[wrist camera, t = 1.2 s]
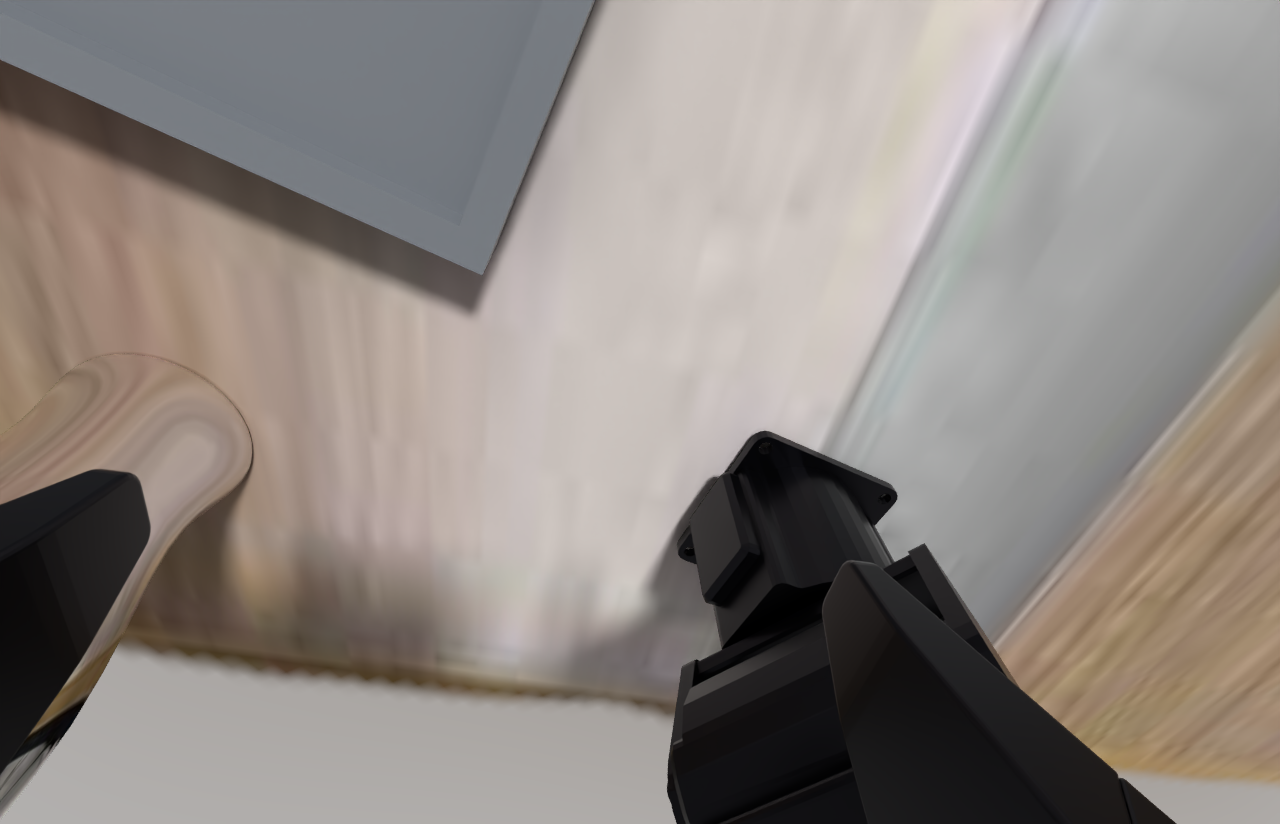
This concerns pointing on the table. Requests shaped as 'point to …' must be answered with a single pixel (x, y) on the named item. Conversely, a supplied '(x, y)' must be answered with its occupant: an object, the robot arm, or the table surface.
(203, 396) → the silver metal cup
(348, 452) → the table surface
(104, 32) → the grey tray
